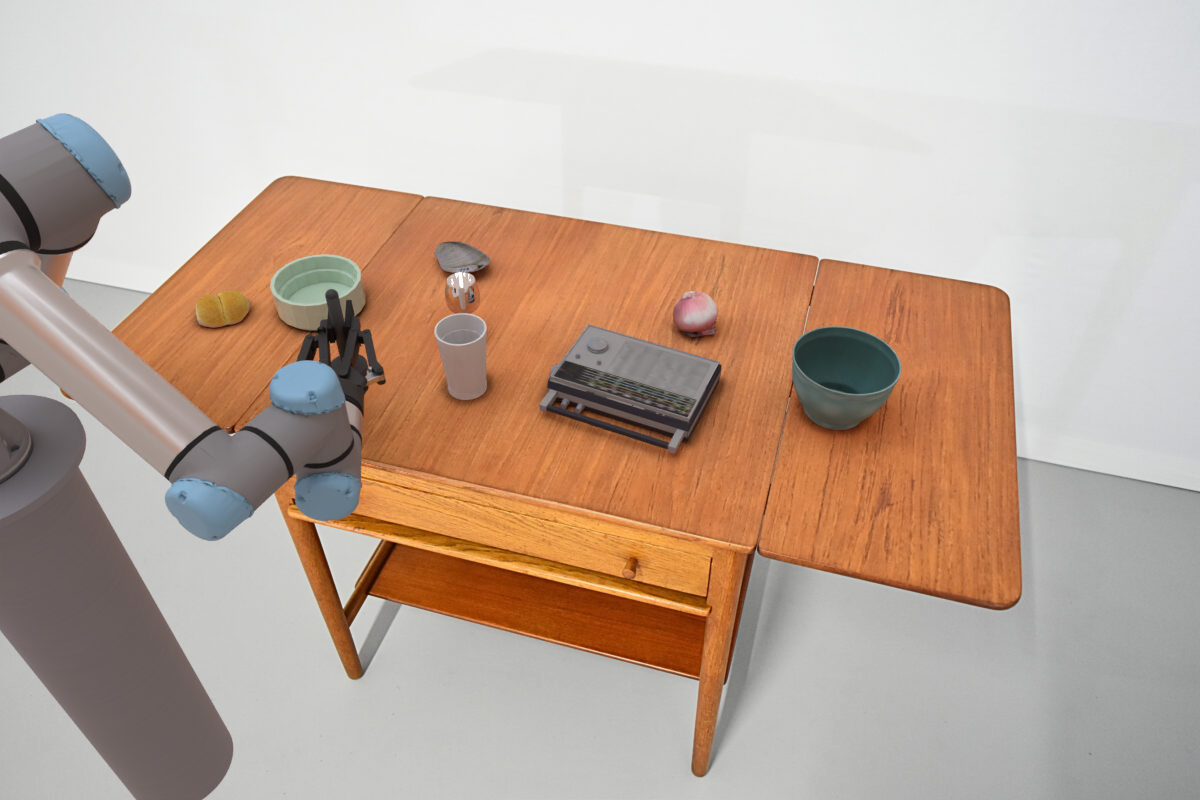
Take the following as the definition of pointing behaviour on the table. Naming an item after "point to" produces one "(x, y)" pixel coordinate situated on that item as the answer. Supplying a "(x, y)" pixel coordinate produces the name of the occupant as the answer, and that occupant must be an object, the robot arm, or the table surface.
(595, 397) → the radio
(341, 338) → the plunger
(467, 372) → the cup
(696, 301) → the onion
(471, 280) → the wineglass
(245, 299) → the bread roll
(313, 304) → the bowl
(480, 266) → the seashell
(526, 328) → the table surface
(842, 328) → the flower pot
